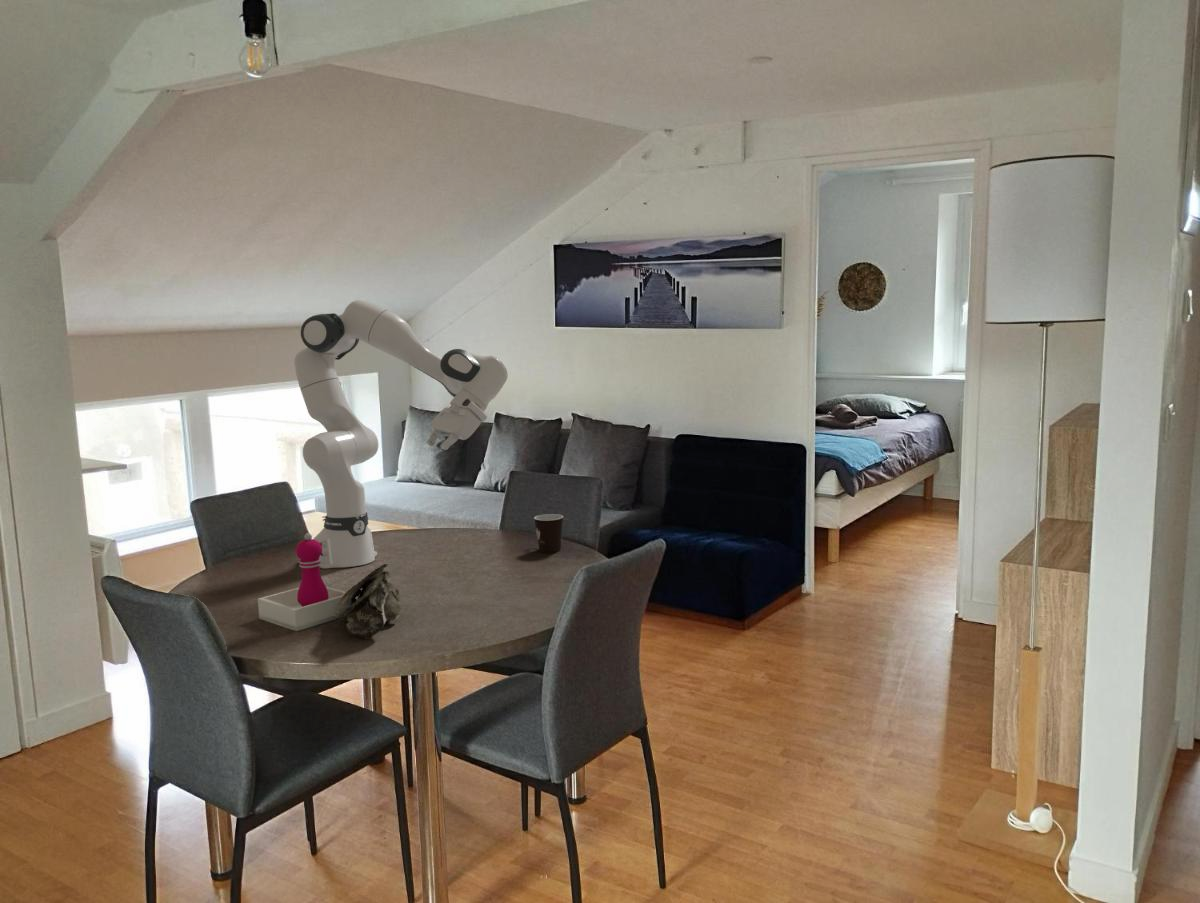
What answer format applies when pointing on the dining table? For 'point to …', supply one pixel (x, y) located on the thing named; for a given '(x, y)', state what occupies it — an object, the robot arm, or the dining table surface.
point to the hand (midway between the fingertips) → (435, 446)
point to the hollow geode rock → (370, 604)
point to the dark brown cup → (549, 532)
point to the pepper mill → (310, 572)
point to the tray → (298, 609)
